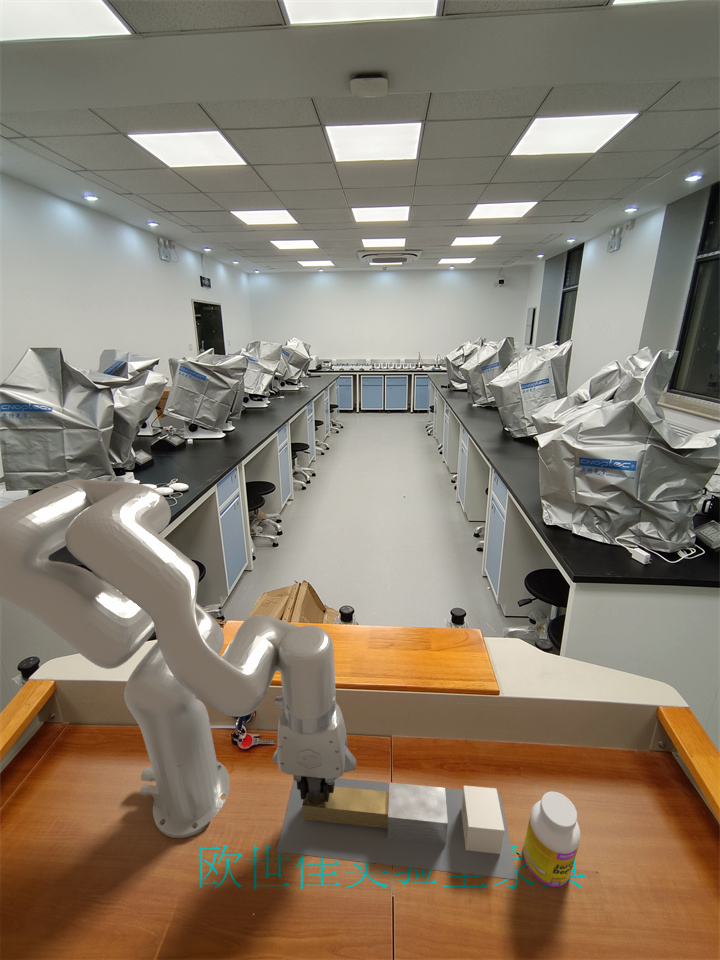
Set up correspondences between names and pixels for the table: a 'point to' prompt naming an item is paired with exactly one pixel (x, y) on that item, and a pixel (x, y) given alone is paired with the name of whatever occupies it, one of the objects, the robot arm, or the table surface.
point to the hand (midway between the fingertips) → (316, 790)
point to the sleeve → (417, 813)
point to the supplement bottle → (552, 839)
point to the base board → (392, 840)
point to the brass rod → (346, 805)
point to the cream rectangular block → (482, 819)
